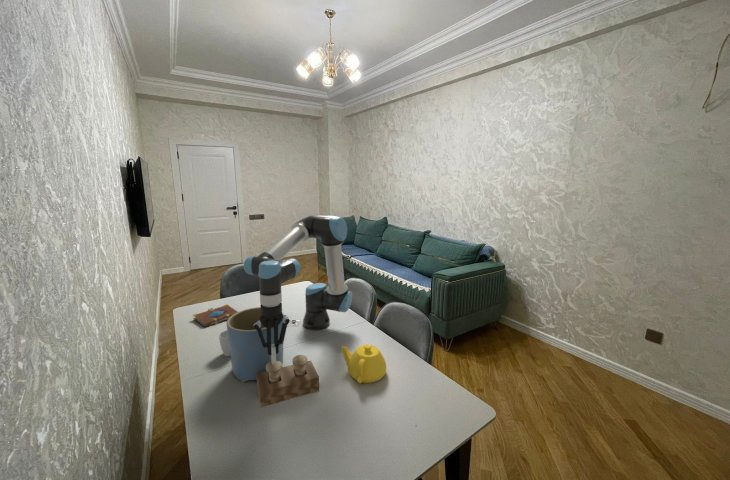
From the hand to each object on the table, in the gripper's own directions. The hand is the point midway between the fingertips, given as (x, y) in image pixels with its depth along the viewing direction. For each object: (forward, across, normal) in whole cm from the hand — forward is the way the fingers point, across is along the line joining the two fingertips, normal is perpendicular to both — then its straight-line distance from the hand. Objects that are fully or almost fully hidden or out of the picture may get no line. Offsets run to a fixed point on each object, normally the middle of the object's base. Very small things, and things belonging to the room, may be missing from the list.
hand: (273, 361), depth 116 cm
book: (+14, +19, -80) cm, 84 cm away
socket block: (+13, -5, 0) cm, 14 cm away
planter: (+14, +4, -19) cm, 24 cm away
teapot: (+14, -36, +3) cm, 39 cm away
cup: (+14, +15, -36) cm, 41 cm away
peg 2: (+9, -10, 0) cm, 13 cm away
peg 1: (+9, 0, 0) cm, 9 cm away
